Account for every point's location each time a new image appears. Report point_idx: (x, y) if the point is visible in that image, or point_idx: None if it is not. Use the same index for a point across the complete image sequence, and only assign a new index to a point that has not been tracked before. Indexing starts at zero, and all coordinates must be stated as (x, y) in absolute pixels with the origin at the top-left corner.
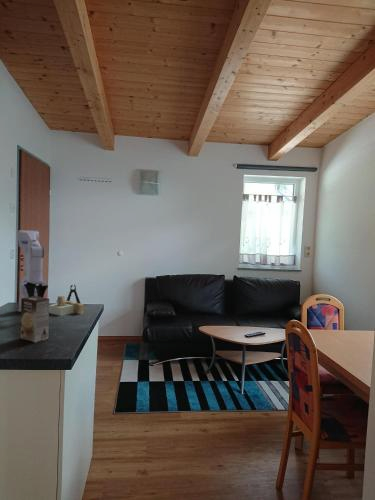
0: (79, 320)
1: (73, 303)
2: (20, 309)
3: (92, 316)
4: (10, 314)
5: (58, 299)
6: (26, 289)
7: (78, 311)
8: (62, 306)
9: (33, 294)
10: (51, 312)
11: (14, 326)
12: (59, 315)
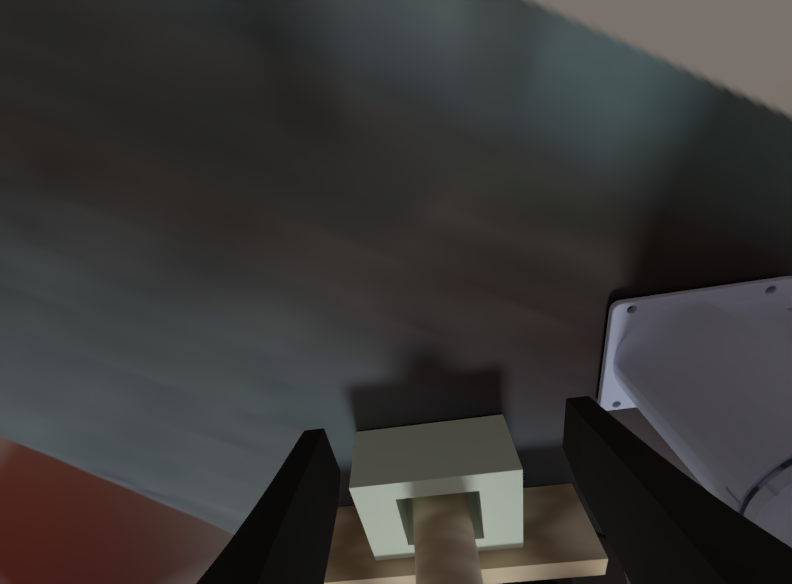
0: (174, 456)
1: (387, 576)
2: (777, 301)
3: (236, 525)
4: (743, 175)
5: (444, 567)
6: (784, 549)
7: (336, 524)
8: (393, 511)
9: (589, 497)
10: (466, 425)
11: (217, 4)
12: (369, 431)
